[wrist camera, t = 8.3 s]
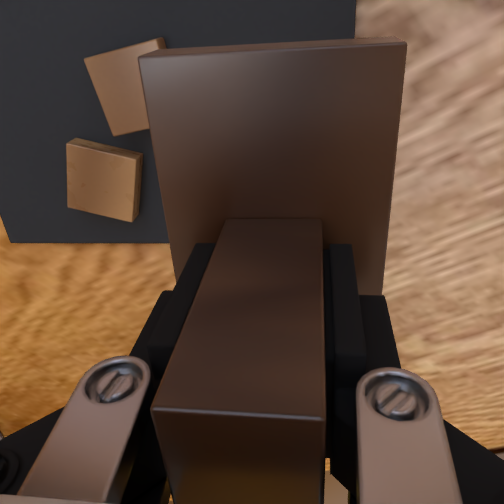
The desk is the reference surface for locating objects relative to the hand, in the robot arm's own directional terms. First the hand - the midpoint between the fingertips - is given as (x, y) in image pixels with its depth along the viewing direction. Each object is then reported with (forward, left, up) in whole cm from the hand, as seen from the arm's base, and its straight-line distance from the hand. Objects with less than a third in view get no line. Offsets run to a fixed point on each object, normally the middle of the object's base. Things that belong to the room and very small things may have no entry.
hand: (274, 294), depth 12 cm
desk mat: (+8, -1, -15) cm, 17 cm away
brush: (0, 0, -4) cm, 4 cm away
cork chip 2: (+11, +2, -15) cm, 18 cm away
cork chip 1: (+8, -3, -15) cm, 17 cm away
